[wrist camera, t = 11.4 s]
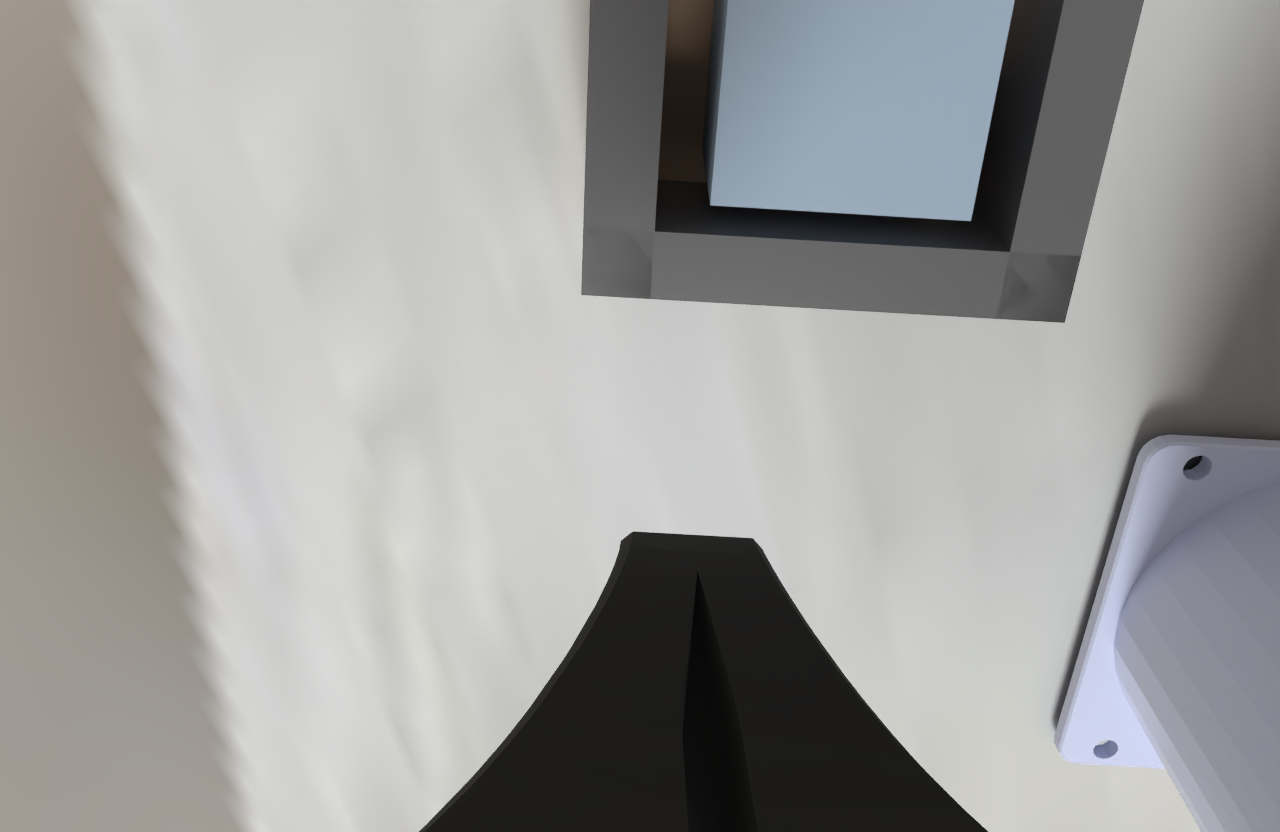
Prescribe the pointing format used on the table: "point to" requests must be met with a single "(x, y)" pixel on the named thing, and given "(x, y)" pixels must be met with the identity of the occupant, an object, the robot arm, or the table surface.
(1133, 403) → the table surface
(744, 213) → the bench frame
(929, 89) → the blue-grey long block
